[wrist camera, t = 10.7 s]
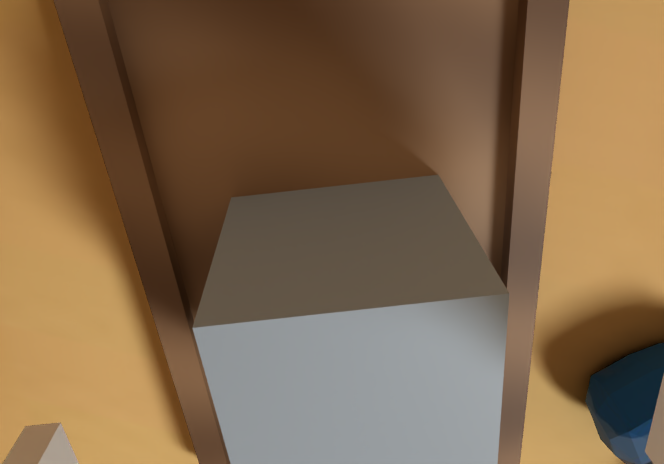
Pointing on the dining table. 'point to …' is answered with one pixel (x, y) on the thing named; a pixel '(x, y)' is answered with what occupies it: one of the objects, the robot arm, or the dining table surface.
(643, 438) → the ray gun
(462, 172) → the board
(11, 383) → the dining table surface
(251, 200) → the cube
